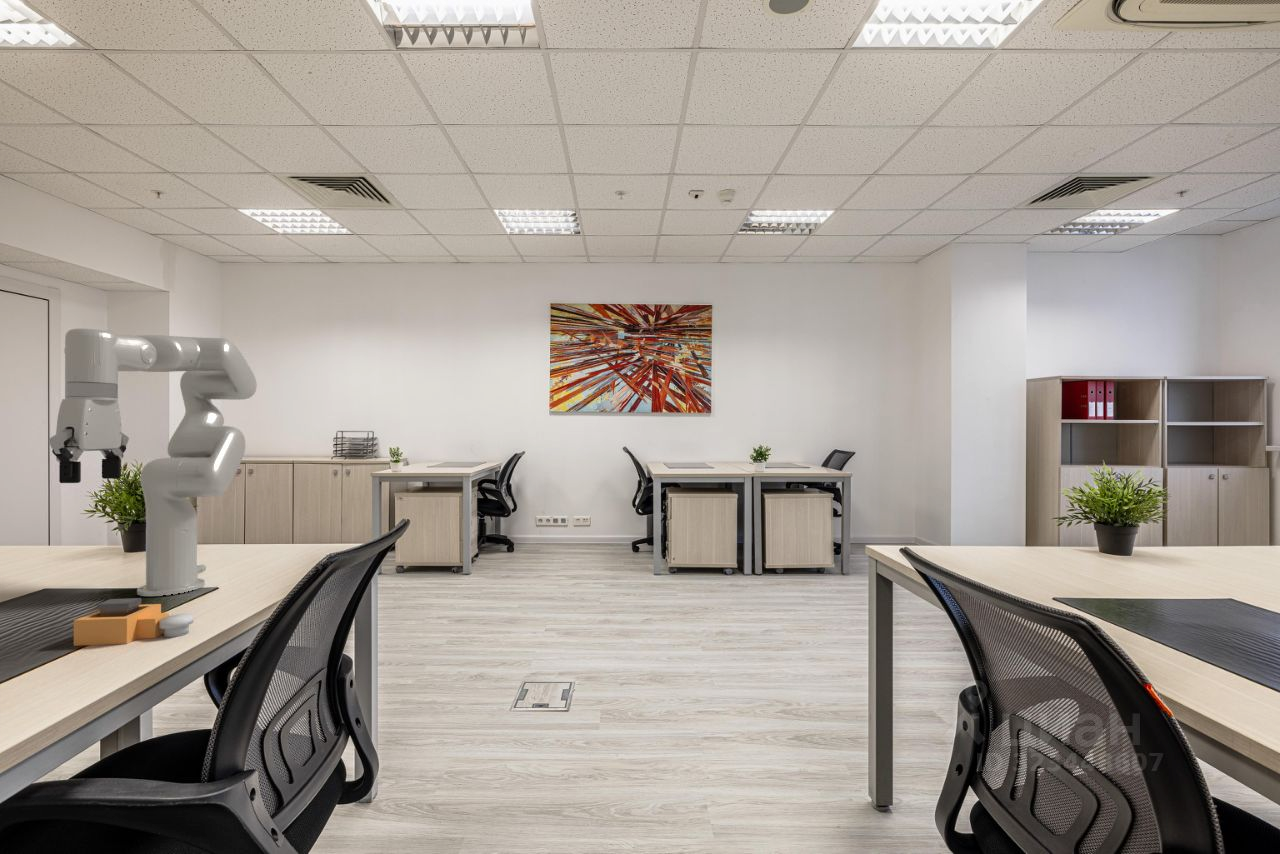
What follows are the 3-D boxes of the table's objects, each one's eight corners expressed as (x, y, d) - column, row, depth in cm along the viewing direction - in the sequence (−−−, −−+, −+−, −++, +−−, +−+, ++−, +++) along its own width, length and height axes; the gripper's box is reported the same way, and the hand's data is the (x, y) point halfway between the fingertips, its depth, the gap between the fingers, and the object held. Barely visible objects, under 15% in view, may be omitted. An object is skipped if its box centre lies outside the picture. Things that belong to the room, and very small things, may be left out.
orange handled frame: (73, 645, 102) (73, 620, 102) (112, 628, 111) (112, 605, 111) (175, 641, 104) (175, 616, 104) (205, 625, 113) (205, 602, 113)
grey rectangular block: (110, 633, 108) (110, 599, 108) (141, 632, 109) (141, 598, 109) (97, 640, 105) (97, 604, 105) (128, 638, 106) (128, 603, 106)
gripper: (106, 395, 121) (106, 477, 121) (29, 390, 104) (28, 485, 104) (145, 395, 122) (145, 476, 122) (75, 390, 105) (74, 484, 105)
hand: (91, 480), depth 113 cm, fingers open, 9 cm apart
